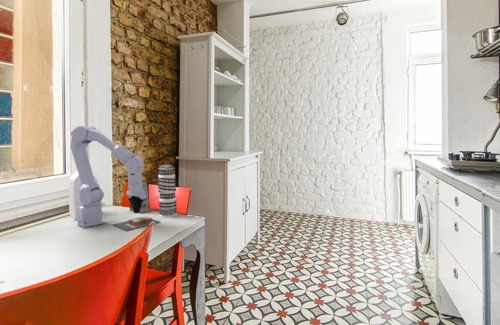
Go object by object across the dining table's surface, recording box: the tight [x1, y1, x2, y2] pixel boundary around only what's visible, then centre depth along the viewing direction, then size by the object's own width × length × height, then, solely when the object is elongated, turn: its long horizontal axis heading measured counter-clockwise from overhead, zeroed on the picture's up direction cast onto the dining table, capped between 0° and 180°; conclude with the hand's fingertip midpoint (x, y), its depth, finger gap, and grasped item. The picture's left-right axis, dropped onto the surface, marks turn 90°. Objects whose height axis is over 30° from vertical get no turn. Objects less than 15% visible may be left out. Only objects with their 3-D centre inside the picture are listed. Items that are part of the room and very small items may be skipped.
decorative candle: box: [156, 164, 178, 218], centre depth 145 cm, size 9×9×25 cm
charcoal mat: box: [112, 218, 161, 232], centre depth 132 cm, size 16×13×1 cm
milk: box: [68, 170, 99, 221], centre depth 147 cm, size 12×12×26 cm
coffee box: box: [127, 179, 151, 214], centre depth 155 cm, size 9×6×16 cm
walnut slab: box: [128, 215, 153, 227], centre depth 131 cm, size 8×2×6 cm
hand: (136, 212), depth 132 cm, fingers closed
